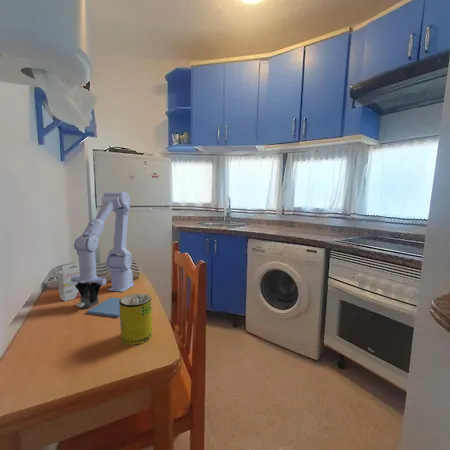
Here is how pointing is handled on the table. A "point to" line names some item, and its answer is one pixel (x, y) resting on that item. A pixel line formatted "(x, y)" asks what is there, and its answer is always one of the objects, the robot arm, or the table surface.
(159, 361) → the table surface
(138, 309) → the beverage can
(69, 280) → the ink cartridge box
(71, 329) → the table surface
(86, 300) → the dark grey rounded block
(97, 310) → the blue-grey mat
